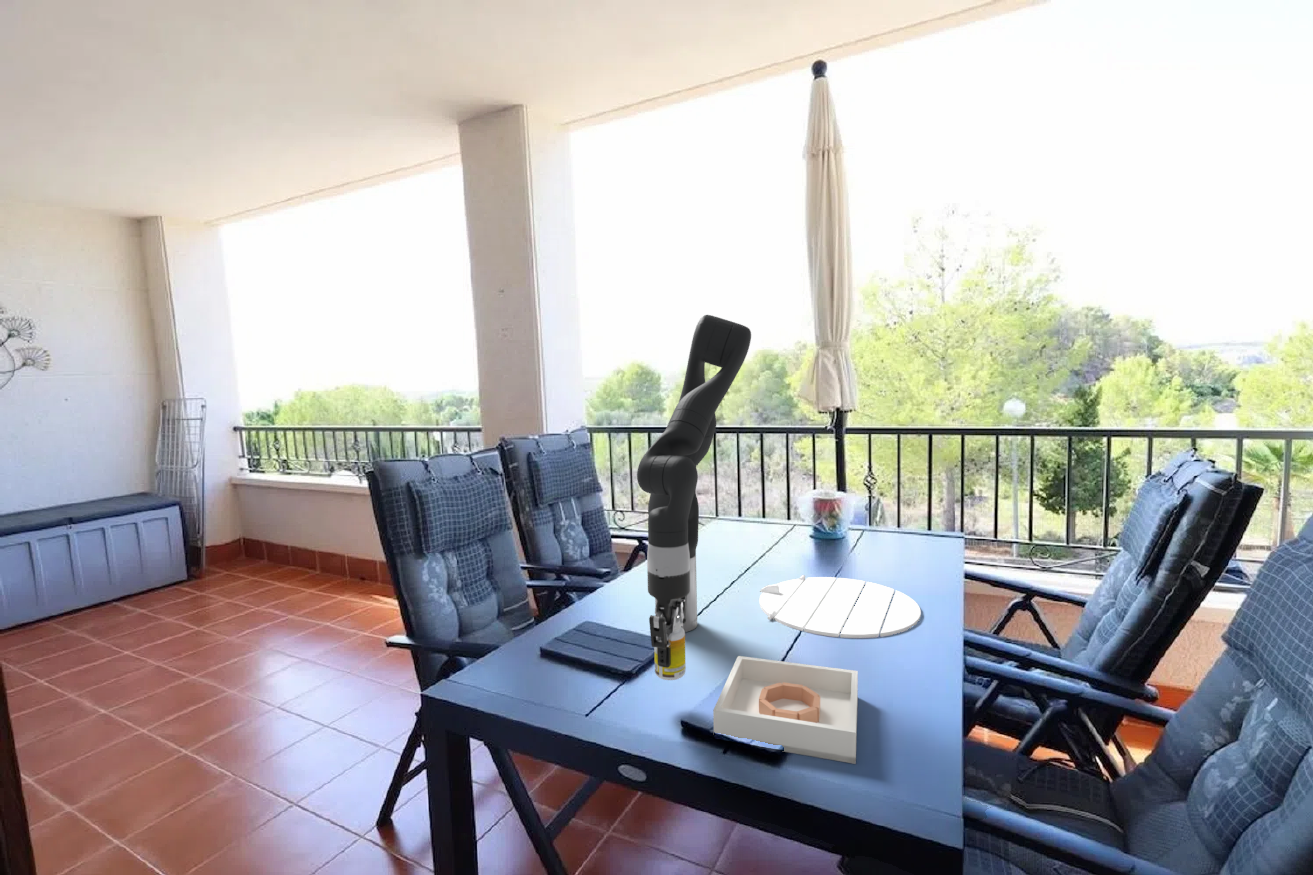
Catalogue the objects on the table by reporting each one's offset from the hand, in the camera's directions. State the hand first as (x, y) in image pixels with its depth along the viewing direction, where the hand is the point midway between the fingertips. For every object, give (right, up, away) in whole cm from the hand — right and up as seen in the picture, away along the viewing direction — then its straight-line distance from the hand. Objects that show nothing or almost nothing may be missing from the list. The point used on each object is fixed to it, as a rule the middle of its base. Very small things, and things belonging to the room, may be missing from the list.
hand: (669, 657), depth 108 cm
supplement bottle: (0, -3, 0) cm, 3 cm away
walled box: (+21, -9, -4) cm, 23 cm away
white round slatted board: (+43, -4, +46) cm, 63 cm away
